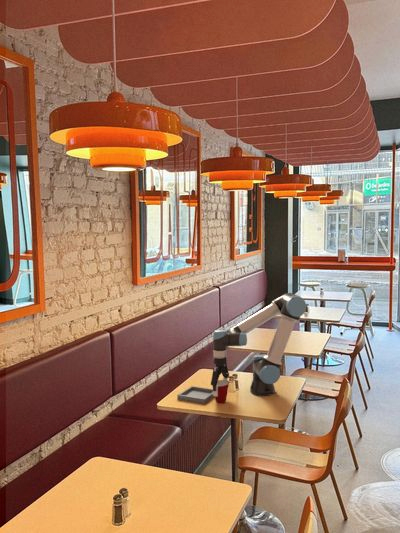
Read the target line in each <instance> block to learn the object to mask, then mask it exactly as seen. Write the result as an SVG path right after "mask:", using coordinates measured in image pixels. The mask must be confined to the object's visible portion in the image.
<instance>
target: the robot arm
mask: <svg viewBox="0 0 400 533" xmlns="http://www.w3.org/2000/svg"><path fill="white" fill-rule="evenodd" d="M306 310H307V303H306V301H305V300H304V298H303V297H301V296H300V295H296V294H295V293H293V292H287V293H284V294H282V295H281V296H279V297H277V298H275V299H273V300H272V301H271V303H270V304H268V305H267V306H265V307H264V308H263V309H261V310H259V311H258V312H256V313H254V314H253V315H251V316H249V317H247V319H245V320H243V321H241V322H240V323H237V324H236V325H234V326H233V327H232V326H231V327H228V328H226V330H225V329H216V330H213V334H212V335H213V336H212V341H213V346H212V347H213V350H212V353H213V364H214V365H215V367H212V374H211V375H212V376H211V381H210V386H212V385H213V386H212V389H213V396H218V385H217V382H218V380H220V376H221V375H222V376H223V377H222V380H228V379H229V378H230V372H229V369H228V363H227V362H228V361H227V347H244V346H246V345H247V344H248V335H247V334H249V333H250V332H252V331H254V330H255V329H257V328H258V327H260V326H262V325H263V324H265V323H267V322H268V321H269V320H271V319H273V318H275V317H276V316H278V315H280V320H279V321H278V325H277V327H276V330H275V331H274V332H275V333H274V335H273V338H272V340H271V343H270V345H269V348H268V350H267V354H255V355H253V356H252V381H251V385H250V387H249V388H250V389H249V390H250V391H249V392H250V394H253V395H255V396H264V397H265V396H272V395H274V394H275V392H276V387H275V385H274V384H276V383H277V382H278V381H279V380H280V379H281V371H280V370H281V367H282V365H283V363H282V361H281V360H282V358H283V355H284V353H285V350H286V348H287V345H288V342H289V340H290V337H291V335H292V332H293V329H294V327H295V324H296V323H298V322H299V321H300V319H301V316H303V315H304V314H305V312H306Z"/></svg>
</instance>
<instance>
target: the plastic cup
mask: <svg viewBox="0 0 400 533" xmlns="http://www.w3.org/2000/svg"><path fill="white" fill-rule="evenodd" d="M217 385H218V396H215V397H214V399H215V403H216V404H220V405H221V404H226V402H227V397H228V393H229V392H228V391H229V385H230V381H229V379H227V380H223V379H218V382H217ZM211 386H212V387H213V385H211Z"/></svg>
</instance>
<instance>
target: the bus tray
mask: <svg viewBox="0 0 400 533" xmlns="http://www.w3.org/2000/svg"><path fill="white" fill-rule="evenodd" d="M213 398H214V399H215V396H213V388H208V387H207V388H206V387H201V386H195V385H194V386H193V385H191V386H189V387H188V388H186V389H185V390H183V391H182V392H180V393H178V394H177V401H183V400H184V401H185V402H189V403H190V402H191V403H195V404H203V405H205V404H206V403H208V402H210V401H211V400H212V399H213Z"/></svg>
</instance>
